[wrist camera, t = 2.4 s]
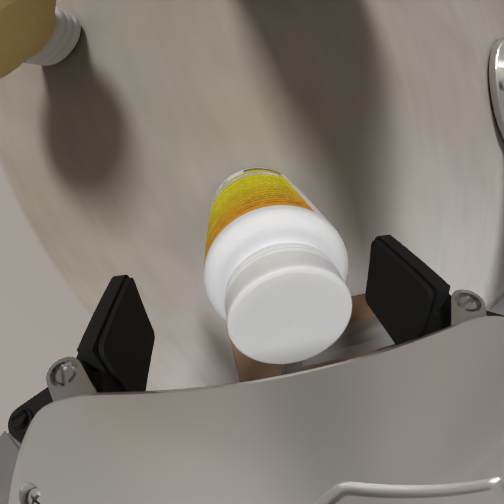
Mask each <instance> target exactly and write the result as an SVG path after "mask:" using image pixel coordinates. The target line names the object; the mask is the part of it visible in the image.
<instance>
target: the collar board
mask: <svg viewBox="0 0 504 504" xmlns="http://www.w3.org/2000/svg"><path fill="white" fill-rule="evenodd" d="M351 298H352V313H351V317H350V320H349V323H348V325H347V327H346V328H345V330H344V332H343V333H342V334H341V336H340V337H339V338H338V339H337V340H336V341H335V342H334V343H333V344H332V345H331V346H329V347H328V348H327V349H325V350H324V351H322V352H321V353H319V354H317V355H315V356H313V357H311V358H308V359H306V360H303V361H299V362H294V363H288V364H270V363H264V362H260V361H257V360H254V359H252V358H250V357H248V356H246V355H245V354H243V353H242V352H241V351H239V350H238V349H237V348H236V346H235V345H234V344H233V342H232V340H231V339H230V340H231V344H232V349H233V353H234V358H235V362H236V366H237V370H238V374H239V379H240V382H246V381H253V380H259V379H265V378H270V377H276V376H281V375H286V374H291V373H296V372H301V371H306V370H310V369H315V368H319V367H323V366H327V365H331V364H335V363H339V362H343V361H346V360H350V359H354V358H357V357H361V356H364V355H368V354H371V353H374V352H378V351H381V350H384V349H387V348H390V347H393V346H396V345H395V343H394V342H393V340H392V339H391V337H390V336H389V334H388V333H387V331H386V330H385V329H384V327H383V326H382V324H381V323H380V321H379V320H378V319H377V317H376V316H375V314H374V313H373V312H372V310H371V309H370V307H369V306H368V305H367V303H366V299H365V294H363V295H358V296H353V297H351Z"/></svg>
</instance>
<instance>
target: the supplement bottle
mask: <svg viewBox="0 0 504 504" xmlns="http://www.w3.org/2000/svg"><path fill="white" fill-rule="evenodd" d="M348 270H349V262H348V254H347V250H346V247H345V244H344V242H343V240H342V238H341V237H340V235H339V234H338V232H337V230H336V229H335V228H334V226H333V225H332V224H331V223H330V222H329V221H328V220H327V218H326V217H325V216H324V215H323V214H322V213H321V212H320V211H319V210H318V209H317V208H316V207H315V206H314V204H313V203H312V202H311V201H310V200H309V199H308V198H307V197H306V196H305V195H304V194H303V193H302V192H301V191H300V190H299V189H298V188H297V187H296V186H295V185H294V184H293V183H292V182H291V181H290V180H289V179H288V178H287V177H285V176H284V175H282V174H281V173H279V172H276V171H274V170H271V169H266V168H248V169H244V170H241V171H239V172H237V173H235V174H233V175H231V176H230V177H228V178H227V179H226V180H225V181H224V182H223V183H222V184H221V185H220V187H219V188H218V189H217V191H216V193H215V195H214V197H213V200H212V203H211V208H210V216H209V224H208V233H207V242H206V252H205V262H204V287H205V291H206V295H207V297H208V300H209V302H210V304H211V306H212V307H213V309H214V310H215V311H216V313H217V314H218V315H219V316H220V317H221V318H222V319H223V320H224V321H226V322H227V330H228V333H229V336H230V339H231V340H232V342H233V344H234V345H235V346H236V348H237V349H238V350H239V351H241V352H242V353H243V354H245V355H246V356H248V357H250V358H252V359H254V360H257V361H260V362H264V363H270V364H288V363H294V362H299V361H303V360H306V359H308V358H311V357H313V356H315V355H317V354H319V353H321V352H322V351H324V350H325V349H327V348H328V347H329V346H331V345H332V344H333V343H334V342H335V341H336V340H337V339H338V338H339V337H340V336H341V334H342V333H343V332H344V330H345V328H346V327H347V325H348V323H349V320H350V317H351V313H352V298H351V294H350V291H349V289H348V287H347V285H346V281H347V278H348Z"/></svg>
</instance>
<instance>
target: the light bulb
mask: <svg viewBox="0 0 504 504" xmlns="http://www.w3.org/2000/svg"><path fill="white" fill-rule="evenodd" d="M80 30H81V26H80V22H79V20H78V18H77V17H76V16H74V15H72V14H70V13H68V12H66V11H64V10H62V9H61V8H59V7H57V6H56V0H0V78H2V77H4V76H6V75H7V74H9V73H11V72H12V71H13V70H15V69H16V68H18V67H19V66H20V65H21V64H22V63H31V64H37V65H43V66H49V65H54V64H56V63H58V62H60V61H62V60H63V59H64V58H66V57H67V56H68V54H69V53H70V52H71V51H72V50H73V48H74V47H75V45H76V44H77V42H78V39H79V37H80Z"/></svg>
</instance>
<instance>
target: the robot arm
mask: <svg viewBox="0 0 504 504" xmlns="http://www.w3.org/2000/svg"><path fill="white" fill-rule="evenodd" d="M489 83H490V92H491V99H492V104H493V109H494V114H495V117H496V121H497V124H498V127H499V130H500V132H501V135H502V137H503V139H504V38H502V39H499V40H497V41H496V42H495V44H494V45H493V47H492V50H491V53H490V60H489ZM450 287H451V286H450V285H448V284H447V283H446V282H445V281H444V280H443V279H442V278H441V277H440V276H439V275H437V274H436V273H435V272H434V271H433V270H432V269H431V268H429V267H428V266H427V265H426V264H425V263H424V262H423V261H421V260H420V259H419V258H418V257H417V256H415V255H414V254H413V253H412V252H411V251H409V250H408V249H407V248H406V247H405V246H403V245H402V244H401V243H400V242H398V241H397V240H396V239H395V238H393V237H392V236H391V235H383V236H377V237H376V238H375V240H374V241H372V244H371V253H370V263H369V271H368V279H367V287H366V294H365V299H366V303H367V305H368V306H369V307H370V309H371V310H372V312H373V313H374V314H375V316H376V317H377V319H378V320H379V321H380V323H381V324H382V326H383V327H384V329H385V330H386V331H387V333H388V334H389V336H390V337H391V339H392V340H393V342H394V343H395V345H396V346H393V347H390V348H387V349H384V350H381V351H378V352H374V353H371V354H368V355H364V356H361V357H357V358H354V359H350V360H346V361H343V362H339V363H335V364H331V365H327V366H323V367H319V368H315V369H310V370H306V371H301V372H296V373H291V374H286V375H281V376H276V377H270V378H265V379H259V380H253V381H246V382H239V383H232V384H225V385H217V386H208V387H198V388H187V389H173V390H158V391H146V384H147V378H148V372H149V366H150V361H151V355H152V350H153V345H154V339H155V336H154V331H153V328H152V326H151V323H150V321H149V319H148V316H147V314H146V311H145V308H144V306H143V303H142V301H141V298H140V295H139V293H138V290H137V287H136V284H135V282H134V279H133V278H129V277H128V275H121V276H114V277H112V279H111V281H110V283H109V284H108V286H107V288H106V290H105V292H104V294H103V296H102V298H101V300H100V302H99V304H98V306H97V308H96V310H95V312H94V314H93V316H92V318H91V320H90V322H89V324H88V327H87V329H86V331H85V333H84V335H83V338H82V340H81V342H80V344H79V347H78V349H77V351H78V355H77V357H76V358H74V357H66V358H63V359H60V360H58V361H57V362H55V363H54V364H53V365H52V366H51V368H50V369H49V371H48V373H47V377H46V381H47V385H48V387H47V388H46V389H45V390H43V391H42V392H40V393H39V394H37V395H36V396H34V397H33V398H31V399H30V400H28V401H27V402H26V403H24V404H23V405H21V406H20V407H18V408H17V409H16V410H15V411H14V412H13V413H12V414H11V416H10V419H9V422H8V429H9V433H7V432H4V433H3V434H2V435H1V436H0V504H504V316H503V315H500V314H496V313H492V312H489V311H486V308H485V304H484V301H483V300H482V298H481V297H480V296H479V295H477V294H476V293H474V292H472V291H468V290H457V291H455V292H454V293H453V294H452V296H451V295H450V294H449V290H450Z"/></svg>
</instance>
